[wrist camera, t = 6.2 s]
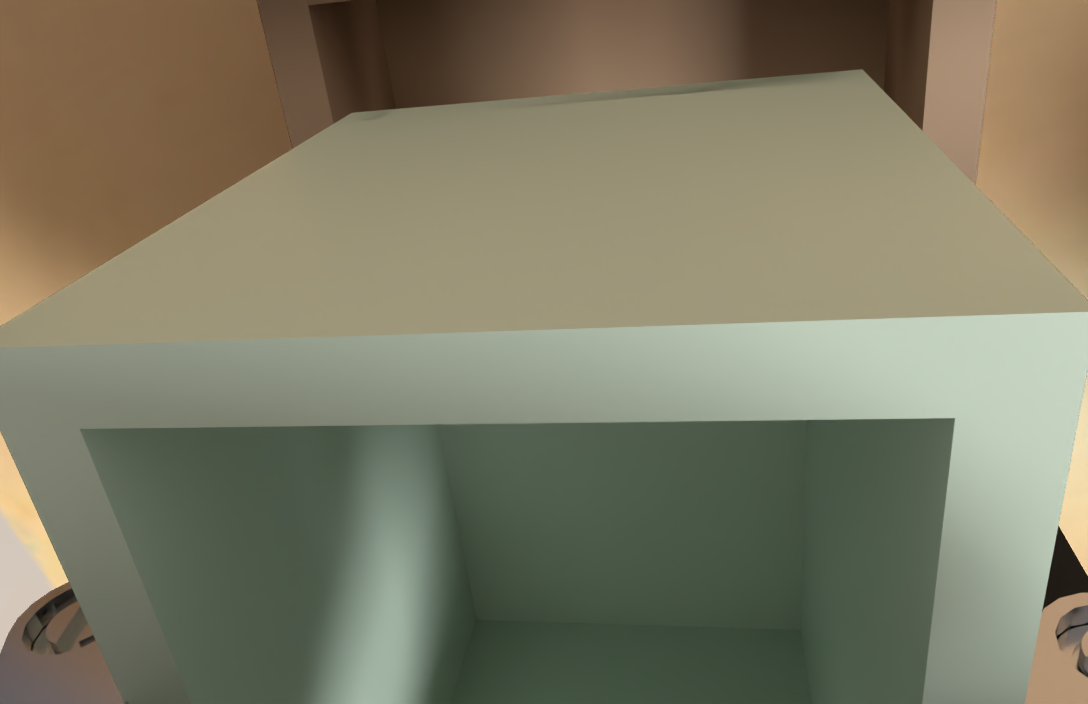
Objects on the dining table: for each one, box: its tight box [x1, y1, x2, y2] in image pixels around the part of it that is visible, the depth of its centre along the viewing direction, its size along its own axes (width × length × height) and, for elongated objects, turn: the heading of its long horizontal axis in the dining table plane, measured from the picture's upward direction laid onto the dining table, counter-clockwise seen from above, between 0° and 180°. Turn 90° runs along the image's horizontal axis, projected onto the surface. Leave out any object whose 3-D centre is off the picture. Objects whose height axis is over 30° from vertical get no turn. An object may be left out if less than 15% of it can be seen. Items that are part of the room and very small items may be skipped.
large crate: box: [257, 0, 996, 185], centre depth 16 cm, size 13×10×4 cm
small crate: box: [0, 69, 1088, 704], centre depth 10 cm, size 9×6×7 cm
